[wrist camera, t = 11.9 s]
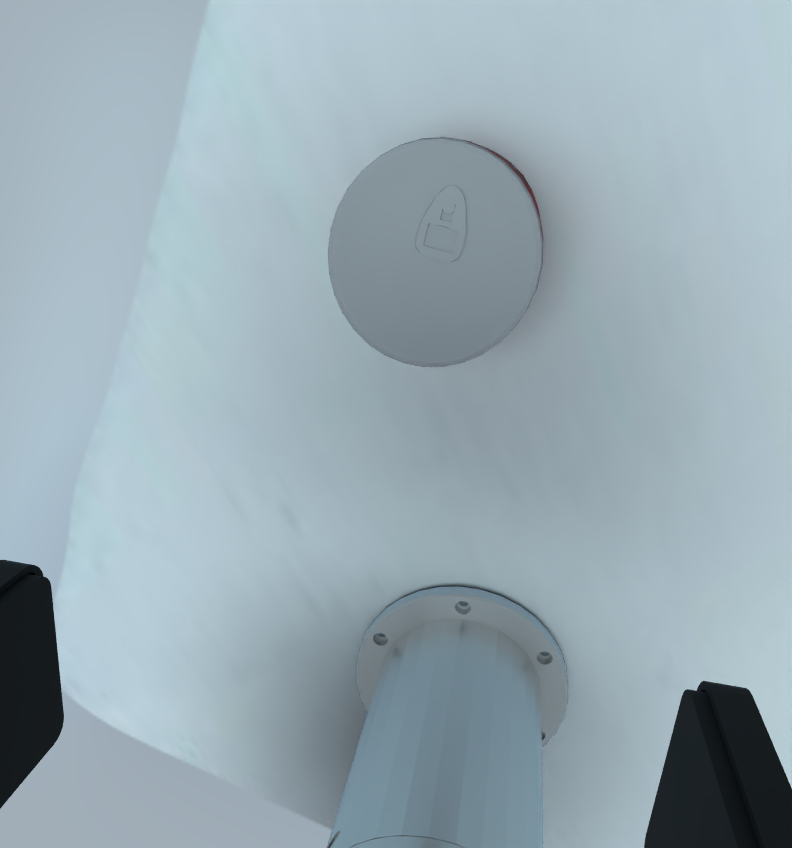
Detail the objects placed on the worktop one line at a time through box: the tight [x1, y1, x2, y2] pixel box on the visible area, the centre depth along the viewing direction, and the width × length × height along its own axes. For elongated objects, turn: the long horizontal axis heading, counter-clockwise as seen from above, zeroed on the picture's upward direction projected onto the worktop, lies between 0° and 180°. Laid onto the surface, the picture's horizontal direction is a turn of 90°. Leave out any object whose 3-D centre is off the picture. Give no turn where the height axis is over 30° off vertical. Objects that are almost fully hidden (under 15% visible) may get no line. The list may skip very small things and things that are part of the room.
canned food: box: [328, 137, 543, 367], centre depth 30 cm, size 8×8×11 cm
